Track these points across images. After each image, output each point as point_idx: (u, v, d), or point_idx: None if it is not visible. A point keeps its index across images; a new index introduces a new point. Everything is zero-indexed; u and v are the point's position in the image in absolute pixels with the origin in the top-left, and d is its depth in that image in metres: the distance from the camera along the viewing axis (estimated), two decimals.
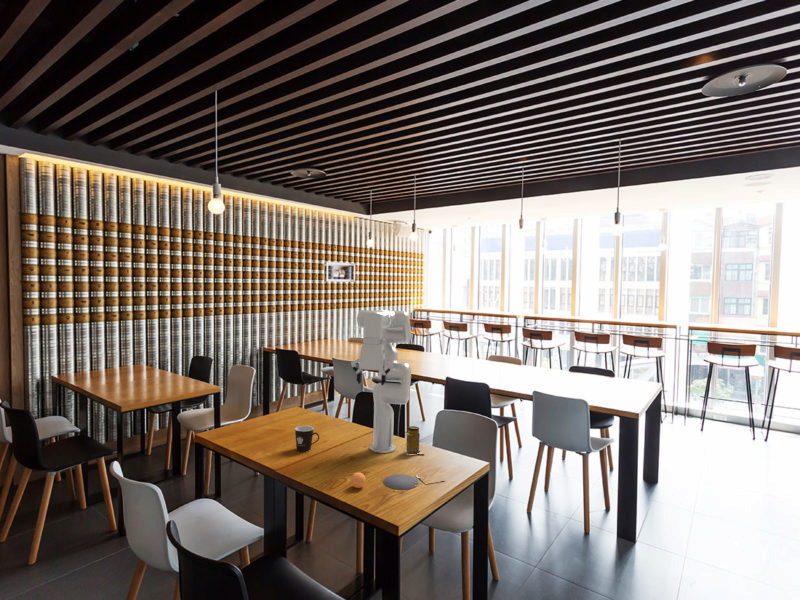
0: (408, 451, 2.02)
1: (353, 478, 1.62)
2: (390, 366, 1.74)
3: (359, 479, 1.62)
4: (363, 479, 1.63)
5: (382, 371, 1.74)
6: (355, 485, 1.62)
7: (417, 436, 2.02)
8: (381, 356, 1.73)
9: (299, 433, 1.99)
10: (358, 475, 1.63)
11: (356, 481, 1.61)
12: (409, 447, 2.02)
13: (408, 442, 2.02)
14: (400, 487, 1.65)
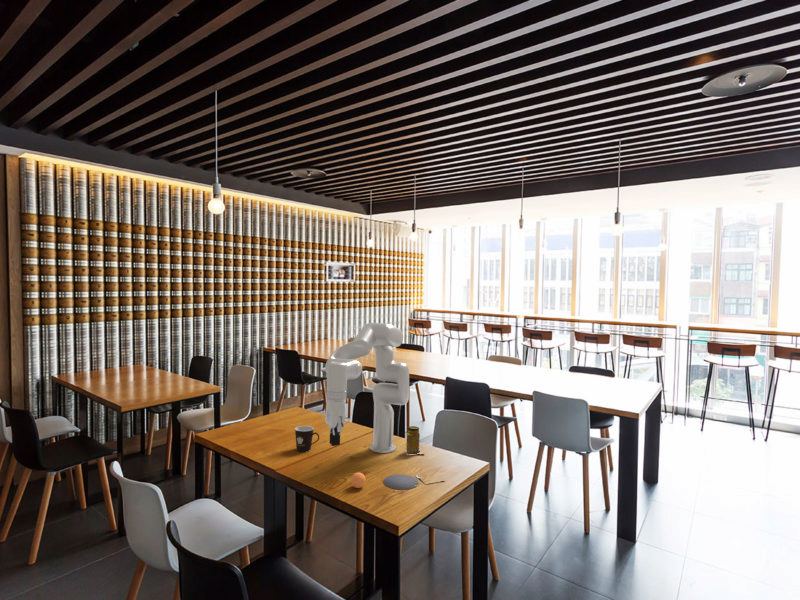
0: (408, 451, 2.02)
1: (353, 478, 1.62)
2: None
3: (359, 479, 1.62)
4: (363, 479, 1.63)
5: None
6: (355, 485, 1.62)
7: (417, 436, 2.02)
8: None
9: (299, 433, 1.99)
10: (358, 475, 1.63)
11: (356, 481, 1.61)
12: (409, 447, 2.02)
13: (408, 442, 2.02)
14: (400, 487, 1.65)
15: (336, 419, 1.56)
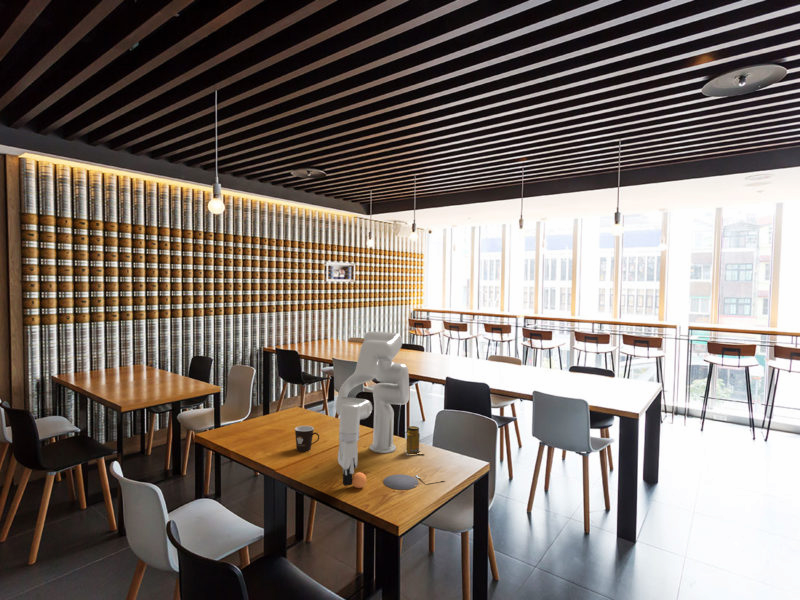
0: (408, 451, 2.02)
1: (354, 478, 1.63)
2: None
3: (360, 479, 1.62)
4: (364, 479, 1.63)
5: None
6: (356, 485, 1.62)
7: (417, 436, 2.02)
8: None
9: (299, 433, 1.99)
10: (359, 475, 1.63)
11: (357, 481, 1.62)
12: (409, 447, 2.02)
13: (408, 442, 2.02)
14: (400, 487, 1.65)
15: (349, 461, 1.58)
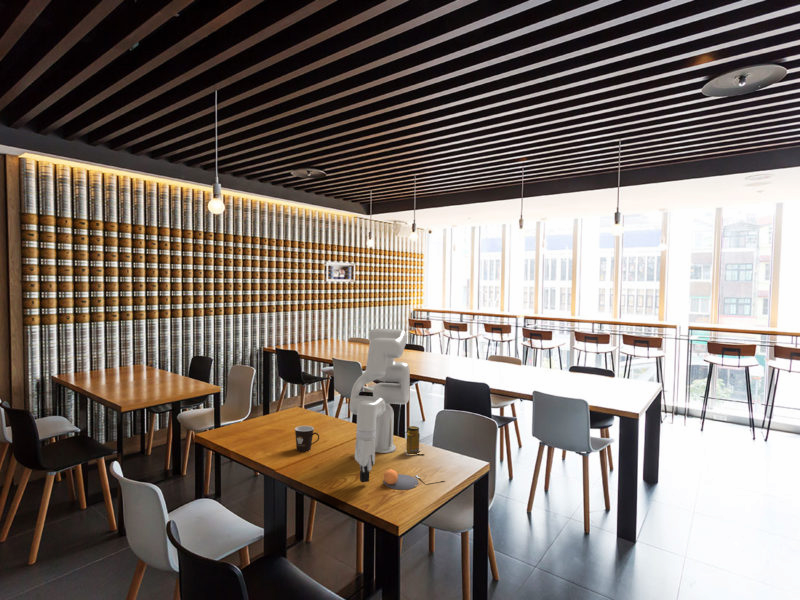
0: (408, 451, 2.02)
1: None
2: None
3: (391, 481, 1.66)
4: (389, 477, 1.66)
5: None
6: (397, 478, 1.67)
7: (417, 436, 2.02)
8: None
9: (299, 433, 1.99)
10: (388, 483, 1.66)
11: (394, 482, 1.66)
12: (409, 447, 2.02)
13: (408, 442, 2.02)
14: (400, 487, 1.65)
15: (367, 458, 1.61)
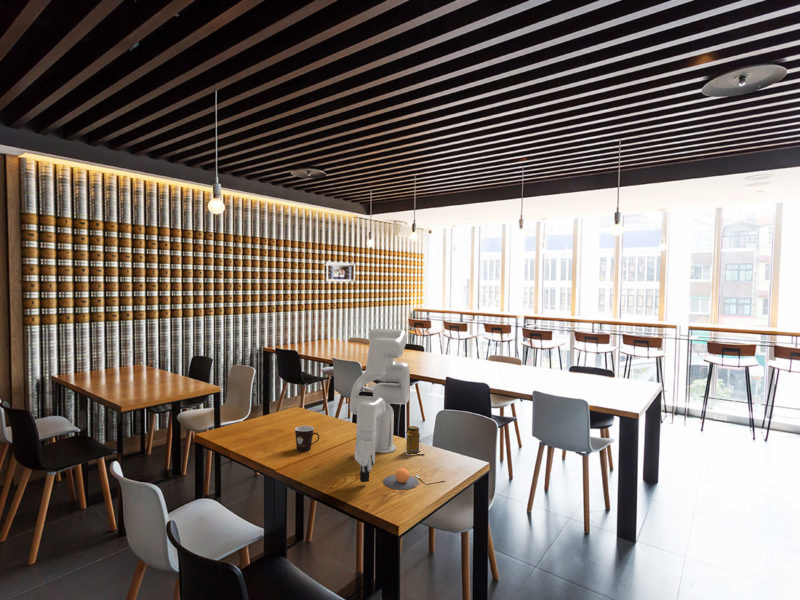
0: (408, 451, 2.02)
1: (397, 477, 1.68)
2: None
3: (403, 477, 1.67)
4: (406, 474, 1.68)
5: None
6: (402, 482, 1.68)
7: (417, 436, 2.02)
8: None
9: (299, 433, 1.99)
10: (400, 473, 1.68)
11: (401, 479, 1.67)
12: (409, 447, 2.02)
13: (408, 442, 2.02)
14: (400, 487, 1.65)
15: (367, 458, 1.61)
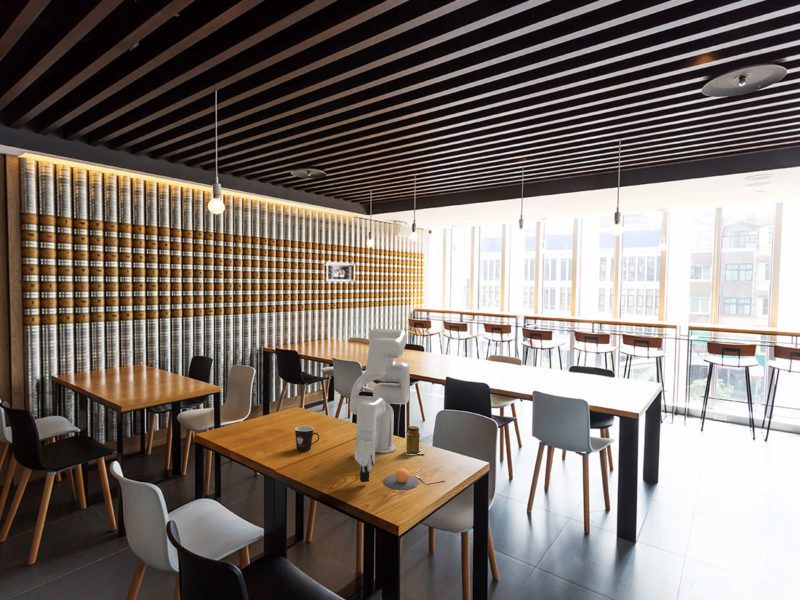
0: (408, 451, 2.02)
1: (397, 477, 1.68)
2: None
3: (403, 477, 1.67)
4: (406, 474, 1.68)
5: None
6: (402, 482, 1.68)
7: (417, 436, 2.02)
8: None
9: (299, 433, 1.99)
10: (400, 473, 1.68)
11: (401, 479, 1.67)
12: (409, 447, 2.02)
13: (408, 442, 2.02)
14: (400, 487, 1.65)
15: (367, 458, 1.61)
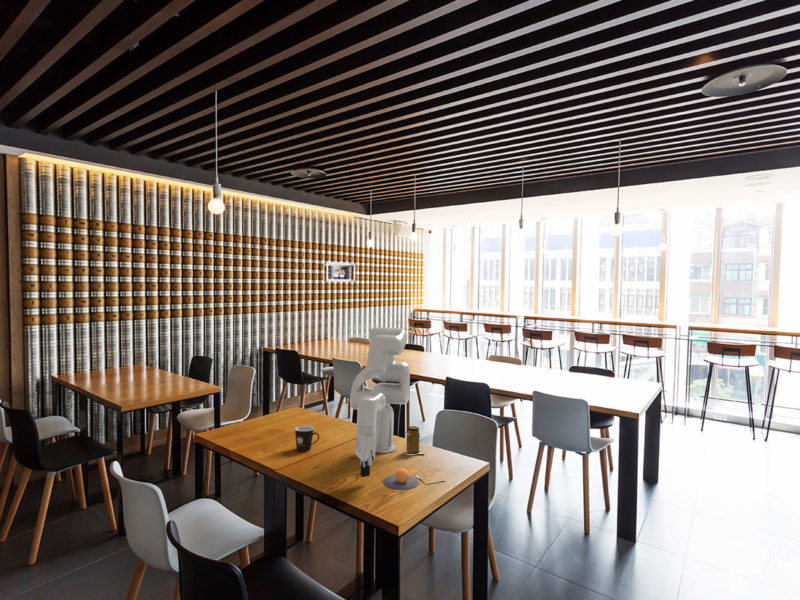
0: (408, 451, 2.02)
1: (397, 477, 1.68)
2: None
3: (403, 477, 1.67)
4: (406, 474, 1.68)
5: None
6: (402, 482, 1.68)
7: (417, 436, 2.02)
8: None
9: (299, 433, 1.99)
10: (400, 473, 1.68)
11: (401, 479, 1.67)
12: (409, 447, 2.02)
13: (408, 442, 2.02)
14: (400, 487, 1.65)
15: (367, 453, 1.62)
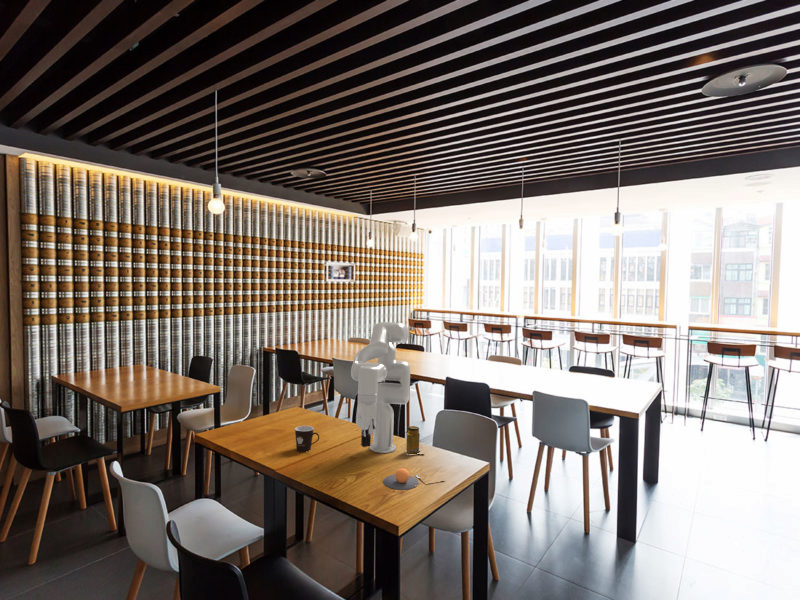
0: (408, 451, 2.02)
1: (397, 477, 1.68)
2: None
3: (403, 477, 1.67)
4: (406, 474, 1.68)
5: None
6: (402, 482, 1.68)
7: (417, 436, 2.02)
8: None
9: (299, 433, 1.99)
10: (400, 473, 1.68)
11: (401, 479, 1.67)
12: (409, 447, 2.02)
13: (408, 442, 2.02)
14: (400, 487, 1.65)
15: (368, 421, 1.61)
